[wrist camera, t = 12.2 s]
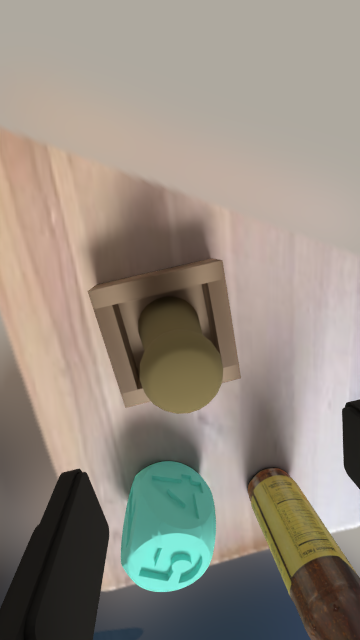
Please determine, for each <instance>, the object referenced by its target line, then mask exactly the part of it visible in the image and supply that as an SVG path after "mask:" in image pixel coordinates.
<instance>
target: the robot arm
mask: <svg viewBox="0 0 360 640" xmlns="http://www.w3.org/2000/svg"><path fill="white" fill-rule="evenodd" d="M342 421H343V455H344V468H345V470H346V472H347V474H348V476H349V477H350V478H351V479H352V481H353V482H354V483H355V484H356V485H357V487H358V488H359V489H360V400H356V401H351V402H348V403H346V405H345V408H343V409H342ZM108 541H109V526H108V523H107V521H106V519H105V516H104V514H103V511H102V509H101V506H100V504H99V502H98V499H97V497H96V494H95V492H94V489H93V487H92V485H91V482H90V480H89V477H88V475H87V473H86V472H83V473H82V471H81V470H80V469H76V470H72V471H68V472H63V473H62V474H61V475H60V477H59V479H58V481H57V484H56V486H55V489H54V491H53V493H52V496H51V498H50V501H49V503H48V505H47V508H46V510H45V512H44V515H43V517H42V520H41V522H40V524H39V525H38V526H37V527H36V528H35V530H34V532H33V534H32V536H31V539H30V541H29V543H28V545H27V548H26V550H25V552H24V555H23V557H22V559H21V562H20V564H19V566H18V569H17V571H16V573H15V576H14V578H13V580H12V583H11V585H10V587H9V589H8V592H7V594H6V596H5V599H4V601H3V604H2V606H1V608H0V640H93V634H94V627H95V622H96V615H97V609H98V603H99V597H100V591H101V584H102V578H103V572H104V566H105V559H106V553H107V547H108Z"/></svg>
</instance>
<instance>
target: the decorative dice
mask: <svg viewBox="0 0 360 640" xmlns="http://www.w3.org/2000/svg"><path fill="white" fill-rule="evenodd" d="M215 534H216V517H215V507H214V501H213V496H212V493H211V491H210V488H209V487H208V485H207V484H206V482H205V481H204V479H203V478H202V477H201V476H200V475H199V474H198V473H197V472H196V471H194V470H193V469H192V468H190V467H188V466H186V465H184V464H182V463H178V462H173V461H163V462H158V463H154V464H152V465H150V466H148V467H146V468H144V469H143V470H141V471H140V472H139V473H138V474H137V475H136V476H135V478H134V481H133V483H132V487H131V490H130V494H129V498H128V503H127V508H126V513H125V519H124V526H123V533H122V543H121V564H122V566H123V568H124V570H125V571H126V573H127V574H128V576H129V577H130V578H131V579H132V580H133V581H134V582H135V583H136V584H137V585H138V586H140V587H142V588H144V589H146V590H150V591H155V592H168V591H174V590H178V589H181V588H184V587H186V586H188V585H190V584H192V583H193V582H194V581H196V580H197V579H199V578H200V577H201V576H202V575H203V573H204V572H205V570H206V569H207V568H208V566H209V564H210V561H211V559H212V555H213V550H214V544H215Z"/></svg>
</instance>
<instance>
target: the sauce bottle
mask: <svg viewBox="0 0 360 640" xmlns="http://www.w3.org/2000/svg"><path fill="white" fill-rule="evenodd" d="M248 494H249V498H250V501H251V505H252V509H253V511H254V513H255V515H256V518H257V520H258V522H259V525H260V527H261V529H262V532H263V534H264V536H265V539H266V541H267V543H268V545H269V548H270V550H271V552H272V555H273V557H274V559H275V562H276V564H277V566H278V569H279V571H280V573H281V576H282V578H283V581H284V583H285V585H286V587H287V590H288V592H289V595H290V597H291V599H292V600H293V602H294V603H295V605H296V608H297V610H298V612H299V615H300V617H301V620H302V622H303V624H304V627H305V629H306V631H307V633H308V635H309V637H310V638H311V640H360V578H359V576H358V575H357V573H356V572H355V570H354V569H353V567H352V566H351V564H350V563H349V561H348V560H347V558H346V557H345V555H344V554H343V552H342V551H341V549H340V548H339V546H338V545H337V543H336V542H335V540H334V539H333V537H332V536H331V534H330V533H329V531H328V530H327V528H326V527H325V525H324V524H323V522H322V521H321V519H320V518H319V516H318V515H317V513H316V512H315V510H314V509H313V507H312V506H311V504H310V503H309V501H308V500H307V498H306V497H305V495H304V494H303V492H302V491H301V489H300V488H299V486H298V485H297V483H296V482H295V481H294V480H293V479H292V478H291V477H290V476H289V475H288V473H286V472H285V471H283V470H282V469H278V468H269V469H264V470H262V471H259V473H257V474H256V475H255V476H254V478H253V479H252V480H251V481H250V483H249V485H248Z"/></svg>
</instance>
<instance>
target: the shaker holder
mask: <svg viewBox="0 0 360 640" xmlns="http://www.w3.org/2000/svg"><path fill="white" fill-rule="evenodd" d="M88 294H89V297H90V300H91V303H92V306H93V309H94V312H95V315H96V318H97V321H98V324H99V328H100V331H101V334H102V337H103V340H104V343H105V346H106V349H107V352H108V355H109V358H110V361H111V364H112V368H113V371H114V374H115V377H116V380H117V383H118V386H119V389H120V392H121V395H122V398H123V401H124V405H125V408H127V407H131V406H135V405H139V404H143V403H147V402H150V399H149V398H148V397H147V396H146V394H145V392H144V390H143V387H142V385H141V382H140V362H141V359H142V357H143V354H144V348H143V345H142V342H141V339H140V336H139V332H138V321H139V318H140V315H141V313H142V311H143V310H144V309H145V307H146V306H147V305H148V304H150V303H151V302H152V301H154V300H155V299H158V298H162V297H178V298H181V299H183V300H185V301H187V302H188V303H189V304H191V305H192V306H193V308H194V309H195V311H196V312H197V314H198V318H199V322H200V326H201V330H202V334H203V336H204V337H206V338H207V339H208V340H210V341H211V342H212V344H213V345H214V346H215V348H216V349H217V351H218V352H219V354H220V356H221V360H222V364H223V380H222V383H224V382H228V381H232V380H236V379H240V378H241V375H240V369H239V362H238V356H237V350H236V344H235V337H234V331H233V325H232V318H231V312H230V306H229V300H228V293H227V287H226V281H225V274H224V268H223V262H222V260H217V259H207V260H203V261H198V262H194V263H189V264H185V265H181V266H176V267H172V268H168V269H163V270H159V271H154V272H150V273H146V274H141V275H137V276H133V277H128V278H124V279H119V280H115V281H111V282H106V283H102V284H98V285H96V286H94V287H93V288H92V289H90V290H89V291H88Z"/></svg>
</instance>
